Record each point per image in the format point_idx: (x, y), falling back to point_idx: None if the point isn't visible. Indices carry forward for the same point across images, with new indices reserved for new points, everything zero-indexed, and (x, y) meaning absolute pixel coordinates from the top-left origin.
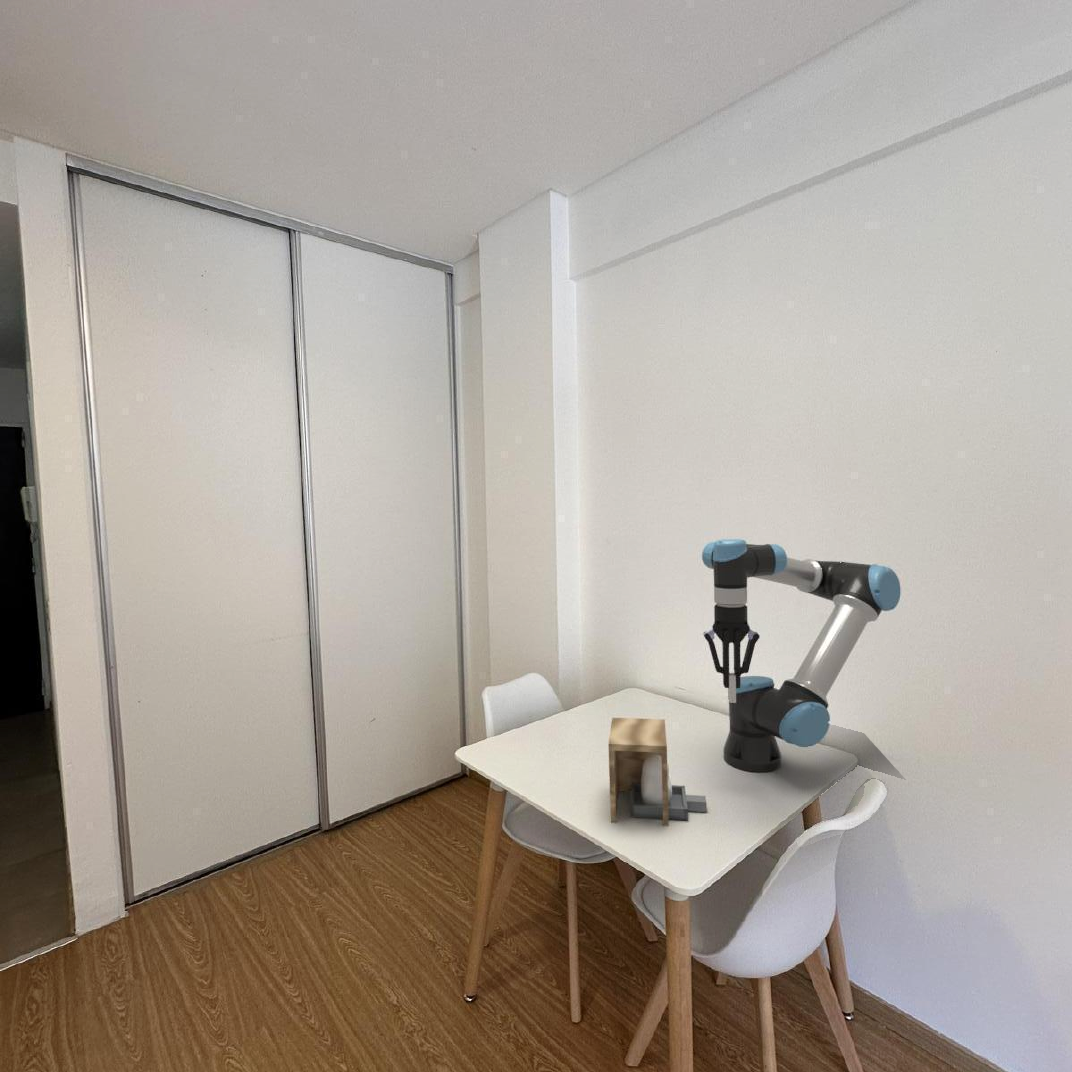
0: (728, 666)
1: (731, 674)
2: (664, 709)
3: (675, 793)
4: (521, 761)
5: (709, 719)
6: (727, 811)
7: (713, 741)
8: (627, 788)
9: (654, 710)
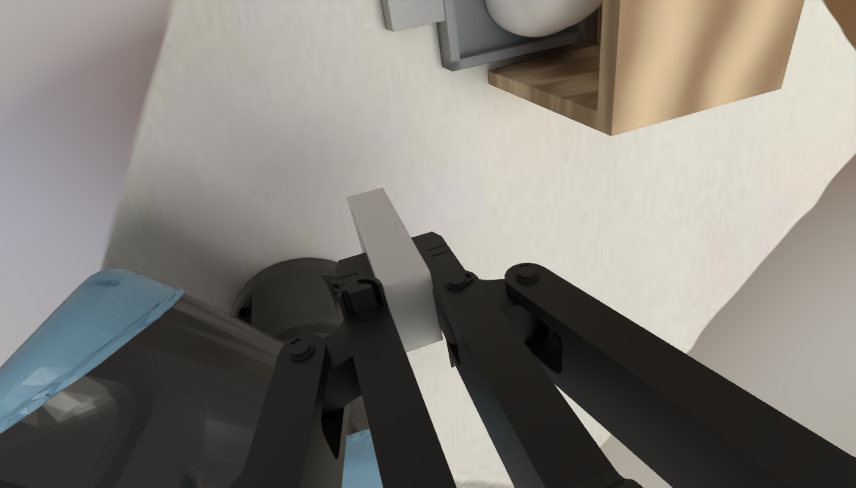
0: (463, 323)
1: (414, 314)
2: None
3: (469, 53)
4: (785, 115)
5: None
6: (324, 18)
7: None
8: (581, 50)
9: None
